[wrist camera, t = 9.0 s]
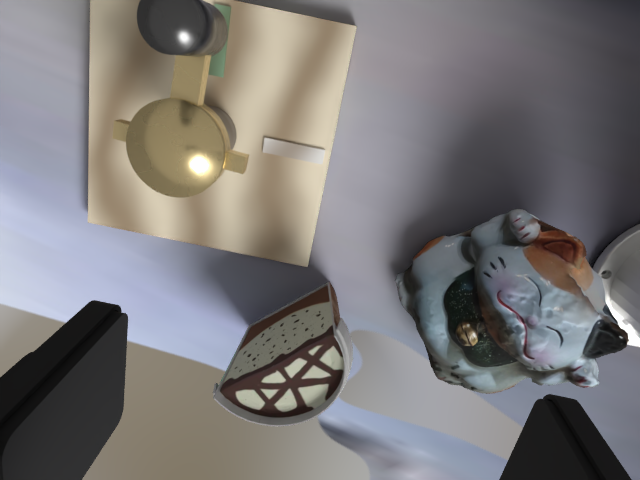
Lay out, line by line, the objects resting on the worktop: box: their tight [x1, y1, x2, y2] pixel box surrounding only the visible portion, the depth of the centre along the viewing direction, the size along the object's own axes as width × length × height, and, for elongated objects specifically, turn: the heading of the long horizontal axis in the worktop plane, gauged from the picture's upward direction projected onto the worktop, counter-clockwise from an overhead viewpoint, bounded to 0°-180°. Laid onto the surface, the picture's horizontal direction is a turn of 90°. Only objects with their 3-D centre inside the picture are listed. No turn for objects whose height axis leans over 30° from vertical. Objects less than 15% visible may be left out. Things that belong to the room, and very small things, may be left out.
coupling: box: [112, 0, 249, 198], centre depth 28 cm, size 12×9×6 cm
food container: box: [213, 282, 353, 426], centre depth 40 cm, size 12×6×10 cm, turn 123°
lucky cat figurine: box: [395, 209, 629, 394], centre depth 36 cm, size 15×12×14 cm
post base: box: [88, 0, 357, 267], centre depth 35 cm, size 20×20×7 cm
